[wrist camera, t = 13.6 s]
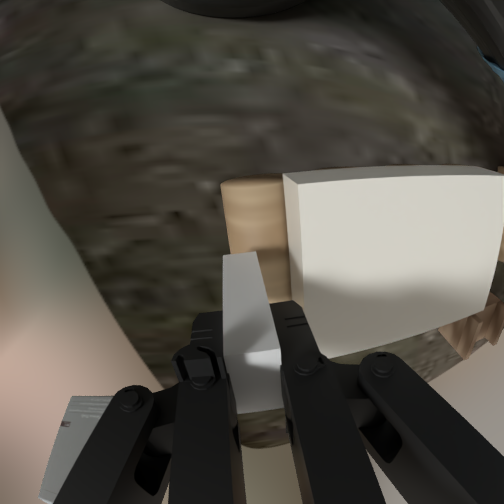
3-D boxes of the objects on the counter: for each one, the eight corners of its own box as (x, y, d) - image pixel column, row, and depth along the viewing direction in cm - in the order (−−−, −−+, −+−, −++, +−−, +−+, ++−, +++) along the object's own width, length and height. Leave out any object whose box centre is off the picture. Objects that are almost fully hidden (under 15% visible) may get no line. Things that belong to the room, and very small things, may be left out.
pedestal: (447, 294, 26) (478, 323, 21) (480, 284, 27) (510, 308, 21) (438, 330, 28) (464, 360, 23) (470, 317, 29) (496, 343, 23)
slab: (282, 173, 13) (297, 184, 11) (476, 166, 14) (508, 176, 11) (293, 328, 17) (304, 363, 14) (459, 289, 17) (483, 310, 15)
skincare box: (121, 392, 28) (93, 515, 13) (147, 426, 31) (133, 534, 16) (68, 393, 28) (31, 496, 13) (96, 426, 30) (73, 520, 16)
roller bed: (221, 172, 20) (219, 192, 13) (507, 162, 21) (553, 177, 14) (236, 275, 23) (241, 330, 17) (500, 231, 24) (541, 255, 18)
